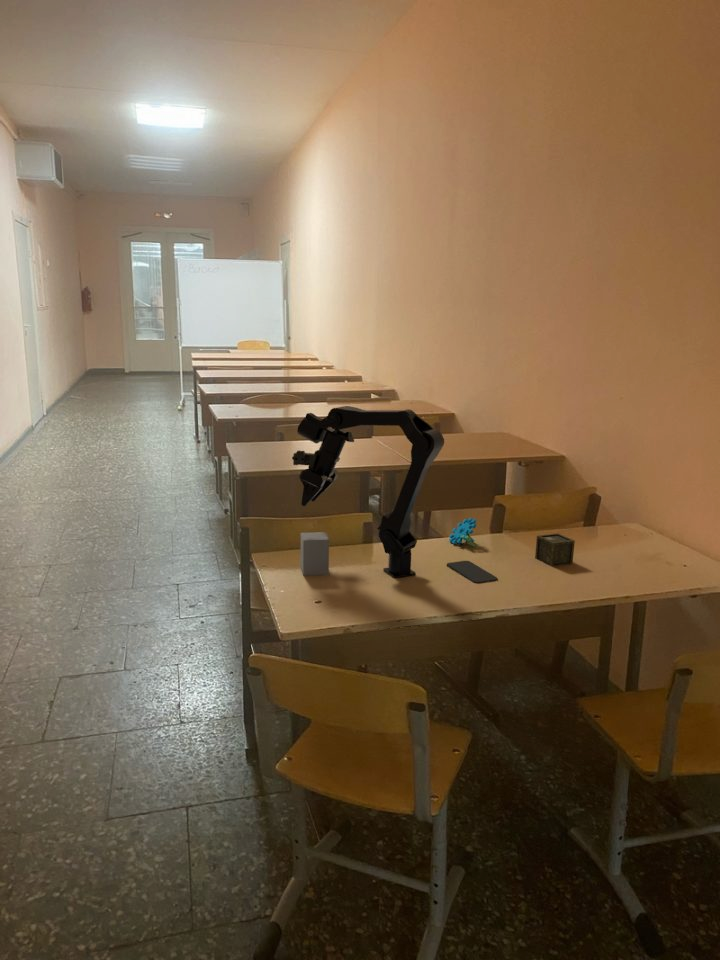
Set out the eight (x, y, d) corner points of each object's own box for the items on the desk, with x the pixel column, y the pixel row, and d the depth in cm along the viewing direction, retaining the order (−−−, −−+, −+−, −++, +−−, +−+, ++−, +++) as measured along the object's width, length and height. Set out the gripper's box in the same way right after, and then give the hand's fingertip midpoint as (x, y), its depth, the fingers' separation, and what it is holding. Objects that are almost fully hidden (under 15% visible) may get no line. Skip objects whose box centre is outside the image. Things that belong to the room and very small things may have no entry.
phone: (475, 582, 179) (445, 563, 193) (475, 585, 180) (444, 566, 193) (499, 578, 182) (468, 560, 196) (499, 581, 183) (468, 562, 196)
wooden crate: (534, 560, 200) (536, 535, 199) (555, 557, 203) (557, 533, 202) (551, 568, 194) (553, 543, 192) (572, 565, 197) (574, 540, 195)
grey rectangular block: (324, 565, 190) (325, 532, 188) (328, 574, 184) (329, 539, 181) (300, 567, 189) (300, 532, 186) (303, 575, 182) (303, 540, 180)
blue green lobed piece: (445, 532, 217) (469, 511, 215) (457, 544, 219) (482, 524, 217) (451, 548, 207) (477, 526, 205) (464, 561, 209) (490, 539, 206)
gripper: (312, 436, 199) (291, 486, 202) (293, 440, 181) (270, 495, 183) (347, 453, 197) (326, 503, 200) (332, 458, 179) (308, 513, 182)
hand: (307, 503), depth 191 cm, fingers open, 9 cm apart
